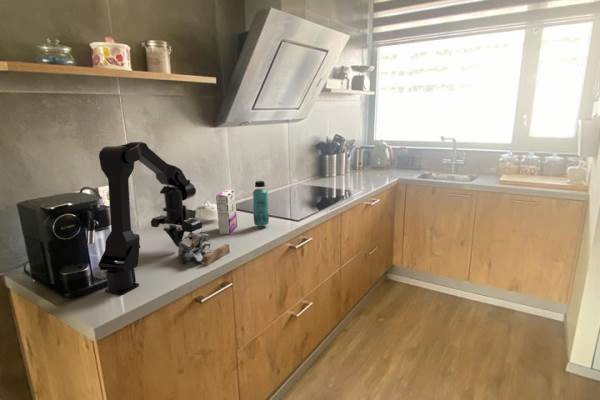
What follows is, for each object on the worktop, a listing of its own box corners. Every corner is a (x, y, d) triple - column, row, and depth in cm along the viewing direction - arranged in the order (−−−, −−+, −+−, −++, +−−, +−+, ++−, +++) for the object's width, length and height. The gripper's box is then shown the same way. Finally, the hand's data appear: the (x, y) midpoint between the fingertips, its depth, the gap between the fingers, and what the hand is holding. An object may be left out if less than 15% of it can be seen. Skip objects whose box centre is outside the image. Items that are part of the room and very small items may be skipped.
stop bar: (207, 265, 116) (207, 256, 115) (204, 264, 117) (203, 256, 116) (229, 252, 127) (229, 244, 126) (226, 252, 127) (225, 244, 126)
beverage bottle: (251, 226, 156) (249, 180, 152) (266, 223, 159) (264, 179, 155) (257, 230, 151) (254, 183, 146) (271, 227, 154) (269, 181, 149)
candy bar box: (226, 226, 157) (223, 189, 153) (237, 226, 157) (235, 189, 153) (218, 234, 146) (215, 195, 142) (230, 234, 146) (227, 195, 142)
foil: (163, 253, 118) (190, 220, 127) (181, 272, 125) (205, 239, 134) (186, 259, 112) (213, 223, 121) (204, 279, 119) (228, 243, 127)
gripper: (210, 200, 128) (214, 242, 131) (170, 197, 135) (175, 236, 139) (188, 208, 118) (193, 253, 121) (147, 203, 126) (152, 245, 129)
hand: (178, 246), depth 128 cm, fingers closed
